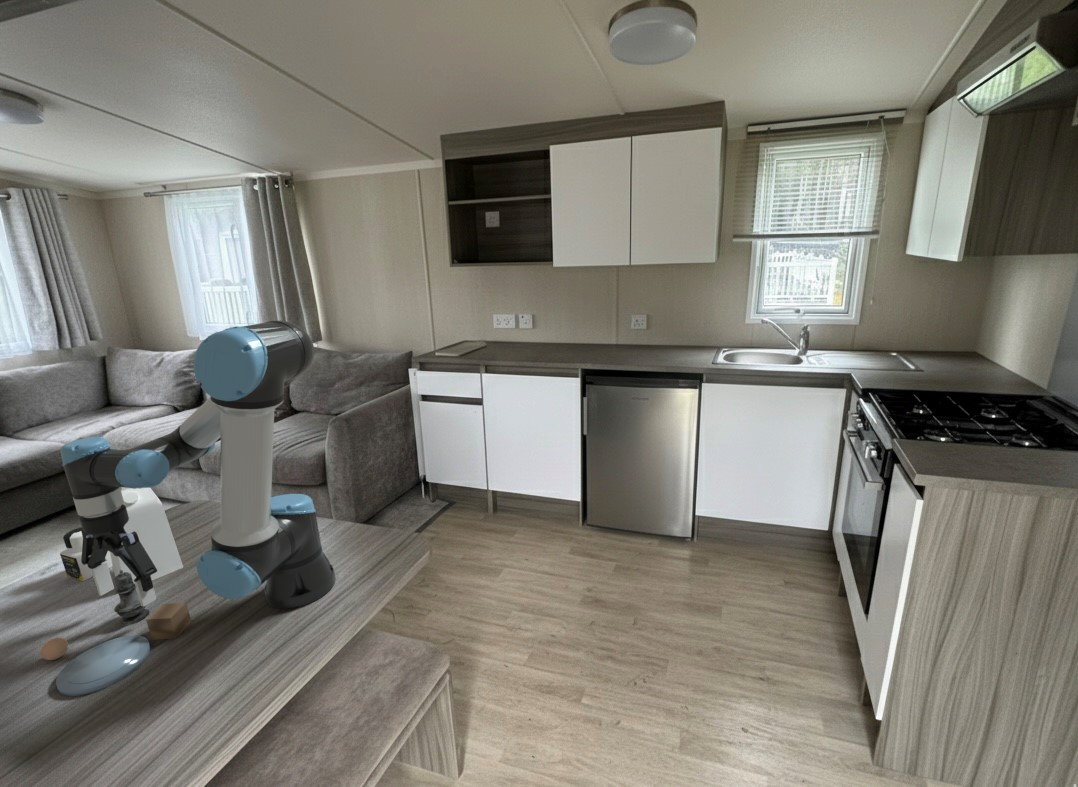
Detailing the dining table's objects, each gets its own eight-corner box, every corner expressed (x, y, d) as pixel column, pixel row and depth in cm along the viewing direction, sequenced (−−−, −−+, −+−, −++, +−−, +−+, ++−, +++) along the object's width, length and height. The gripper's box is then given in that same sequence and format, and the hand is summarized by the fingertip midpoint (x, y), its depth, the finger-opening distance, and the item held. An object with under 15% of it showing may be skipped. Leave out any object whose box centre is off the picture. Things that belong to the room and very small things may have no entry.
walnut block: (191, 622, 110) (186, 602, 109) (176, 638, 105) (170, 618, 104) (168, 623, 110) (162, 603, 109) (152, 640, 105) (146, 619, 104)
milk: (169, 553, 139) (145, 465, 132) (183, 567, 132) (158, 475, 125) (114, 575, 130) (86, 482, 123) (126, 591, 123) (96, 493, 116)
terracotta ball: (75, 651, 103) (69, 635, 102) (51, 666, 100) (45, 649, 98) (62, 648, 104) (57, 631, 103) (39, 662, 101) (33, 645, 100)
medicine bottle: (66, 577, 130) (53, 535, 127) (98, 561, 137) (86, 521, 134) (83, 582, 128) (69, 539, 125) (114, 566, 134) (102, 525, 131)
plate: (166, 647, 103) (165, 641, 102) (89, 703, 90) (87, 697, 90) (120, 635, 107) (118, 629, 107) (39, 686, 95) (37, 680, 94)
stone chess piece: (133, 627, 109) (118, 579, 106) (111, 625, 111) (96, 577, 108) (158, 609, 115) (144, 563, 112) (137, 607, 116) (123, 561, 113)
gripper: (162, 508, 106) (184, 596, 111) (83, 495, 114) (108, 578, 119) (124, 526, 99) (149, 618, 104) (43, 511, 107) (70, 597, 112)
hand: (127, 597), depth 112 cm, fingers open, 13 cm apart
